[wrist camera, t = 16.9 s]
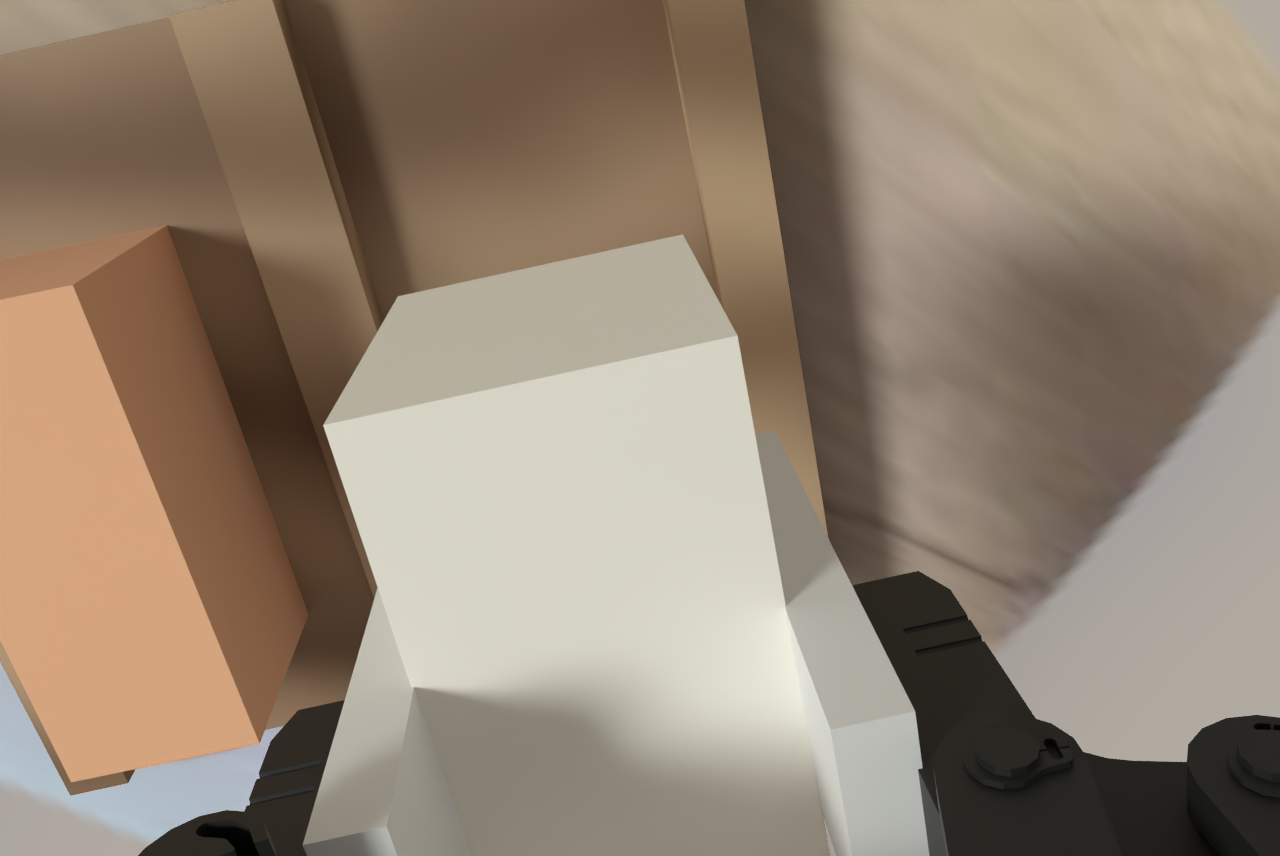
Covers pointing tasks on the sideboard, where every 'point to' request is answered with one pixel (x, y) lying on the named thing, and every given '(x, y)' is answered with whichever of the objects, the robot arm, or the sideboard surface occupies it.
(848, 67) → the sideboard surface
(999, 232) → the sideboard surface
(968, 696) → the robot arm
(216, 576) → the terracotta stub
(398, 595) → the cream stub
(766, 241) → the comb board
